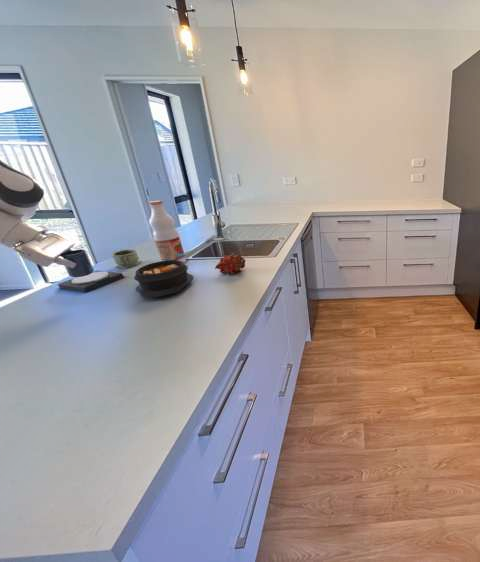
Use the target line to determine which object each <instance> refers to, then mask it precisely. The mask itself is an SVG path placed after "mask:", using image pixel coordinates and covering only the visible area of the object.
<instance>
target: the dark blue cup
mask: <svg viewBox="0 0 480 562" xmlns="http://www.w3.org/2000/svg"><path fill="white" fill-rule="evenodd" d="M60 256H61V257H63V259H67V260H70V261H71V260H72V261H74V262H77V265H76V266H75V267H74V268H71V267H68V266H65V265H63V266H64V267H65V268H64V269H65V270H66V273H67V275H68V276H69V277H71V278H76V277H83V276H87V275H89V274H91V273H92V272H94V271H95V269H94V267H93V265H92V263H91V260H90V258H89V255H88V253H87V251H86V249H75V250H72V251H67V252H64V253H62V254H61V255H60Z"/></svg>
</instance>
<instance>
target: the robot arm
mask: <svg viewBox="0 0 480 562" xmlns="http://www.w3.org/2000/svg"><path fill="white" fill-rule="evenodd" d="M44 196H45V191H44V188H43V186H42V185H41V183H40V182H39V181H37V180H36V179H35V178H33V177H32V176H30V175H29V174H26V173H24V172H22V171H19V170H18V169H15V168H13V167H11V166H10V165H8V164H7V163H5V162H4V161H2V160H1V159H0V245H2V246H4V247H6V248H9V249H12V250H13V251H15V252H16V253H17V254H18V255H19V256H20V257H21V258H23V259H25V260H27V261H29V262H32V263H34V264H36V265H38V266H41V267H46V268H47V267H49V266H51V265H52V264H53V263H54V264H57V265H59V266H64V265H65V266H68V267H71V268H74V267H75V266H76V265H77V262H74V261H72V260H71V261H70V260H67V259H63V257H61V256H60V255H61V254H62V253H64V252H67V251H72V250H76V249H75V248H74V246H75V244H76V243H75V242H74V241H73V240H72V239H70V238H67V237H66V236H64V235H62V234H60V233H58V232H55V231H53V230H50V227H48V226H46V225H44V224H32V223H29V222H27V221H29V220H30V219H32V218H33V217H34V216H35V214H36V211H37V209H38V207H39V204H40V202H41V201H42V199H43V198H44ZM65 266H64V267H65Z"/></svg>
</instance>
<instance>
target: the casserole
mask: <svg viewBox="0 0 480 562" xmlns="http://www.w3.org/2000/svg"><path fill="white" fill-rule="evenodd" d="M188 269H189V266H188V265H187V264H186V263H185V262H184V263H183V262H182V261H179V260H168V261H161V260H160V261H156V262H152V263H148V264H145V265H143V266H141V267H139V268H137V270H135V275H134V277H133V279H134V281H136V282H138V285H137V286H136V287H135V292H137V293H138V294H139V295H140V296H141V297H142V298H145V299H146V298H147V299H149V298H150V299H151V298H159V297H164V296H169V295H173V294H176V293H178V292H180V291H181V290H183V288H184V287H185V286H187V285H189V284H191V282H192V281H193V280H194V275H193V274H191V273H188Z"/></svg>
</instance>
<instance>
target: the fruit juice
mask: <svg viewBox="0 0 480 562" xmlns="http://www.w3.org/2000/svg"><path fill="white" fill-rule="evenodd" d="M148 206H149V207H150V209H151V213H150V217H149V219H148V224H149V226H150V228H151V229H152V237H153V240H154V242H155V243H154V244H155V246H156V249H157V253H158V255H159V258H160V261H168V260H179V261H182V262H183V263H184V264H185V263H186V261H187V257H186V255H185V252H184V248H183V245H182V241H181V238H180V234H179V232H178V230H177V228H176V227H175V220H174V218H173V217H172V216H171V215H170V214H168V212H167V211H166V209H165V208H164V202H163V200H150V201H148Z"/></svg>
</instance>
